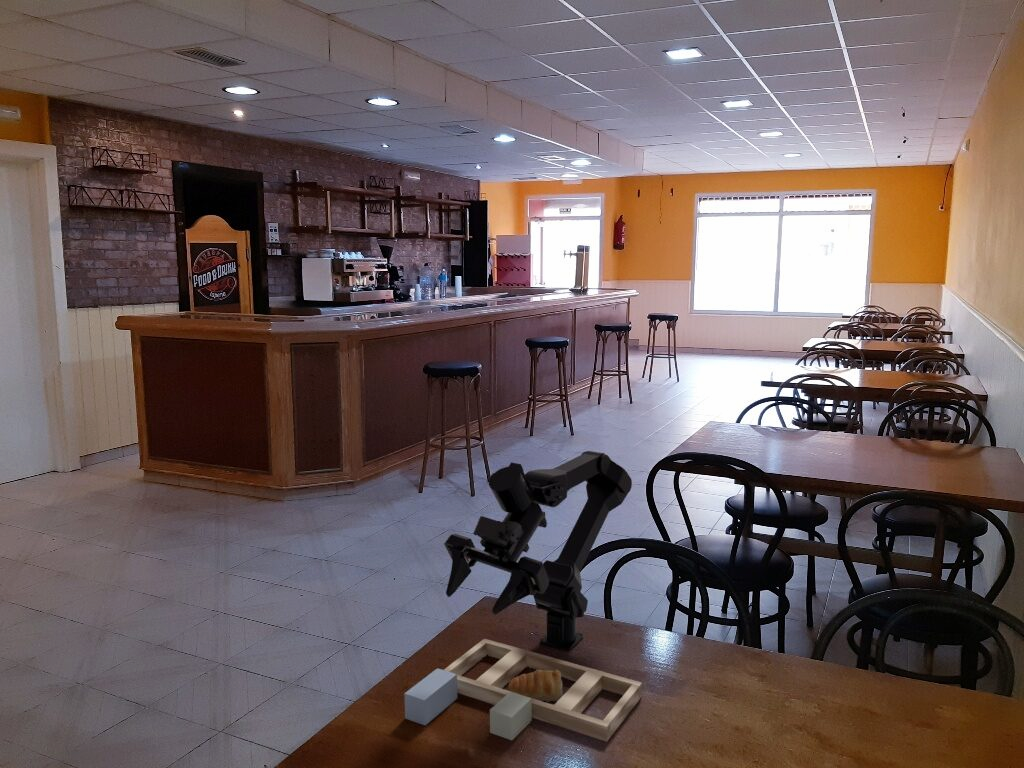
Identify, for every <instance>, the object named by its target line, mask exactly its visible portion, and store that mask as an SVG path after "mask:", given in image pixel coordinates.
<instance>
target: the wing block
mask: <svg viewBox="0 0 1024 768" xmlns="http://www.w3.org/2000/svg"><path fill="white" fill-rule="evenodd" d="M403 697H404V718H405V719H406V720H409V721H411V722H415V723H416V724H421V725H422V726H427V725H428V724H429V723H430V722H431V721H433V720H434V719H435V718H436V717H437V716H439V714H441V713H442V712H443V711H444V710H446V709H447V708H448V707H449V706H450V705H451V704H452V703H454V702H455V701H456V700H457V699H458V693H457V674H454V673H451V672H448V671H445V670H444V669H440V668H436V669H435V670H433V671H432V672H431V673H429V674H428V675H427V676H426V677H424V678H422V680H420V681H419V682H417V683H416V684H415V685H413V686H412V687H411V688H409V689H408V690H407V691H406V692H404V696H403Z"/></svg>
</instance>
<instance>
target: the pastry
mask: <svg viewBox="0 0 1024 768" xmlns="http://www.w3.org/2000/svg"><path fill="white" fill-rule="evenodd" d="M507 685H508V686H507V691H511V692H514V693H517V694H520V695H523V696H527V697H530V698H533V699H536V700H539V701H546V703H551V702H550V701H554V702H555V701H556V702H557V701H558V700H559V699H560V698H561V697H562V696H563V695H564V694H563V686H564V685H563V680H562V677H561V673H560V671H559V670H557V669H556V670H555V671H548V670H534V671H533V672H528V673H522V674H520V675H517V676H516V677H514V678H513V679H512V680H511V681H510V682H509V683H508V684H507ZM554 702H553V703H554ZM556 702H555V703H556Z"/></svg>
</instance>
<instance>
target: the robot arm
mask: <svg viewBox="0 0 1024 768" xmlns="http://www.w3.org/2000/svg"><path fill="white" fill-rule="evenodd" d="M583 482H585V483H586V485H585V489H586V496H587V500H586V502H585V504H584V506H583V508H582V510H581V512H580V514H579V516H578V518H577V520H576V521H575V524H574V526H573V528H572V530H571V532H570V533H569V536H568V538H567V540H566V542H565V543H564V546H563V547H562V549H561V551H560V554H559V556H558V557H557V558H556V559H555V560H553V561H551V560H547V559H546V560H544V562H542V561H541V560H537V559H534V558H531V557H528V556H525V555H524V556H521V555H522V554H523V553H527V554H528V551H529V549H530V547H529V542H530V541H531V539H532V537H533V535H534V533H536V530H537V529H538V528H540V527H541V528H547V527H548V526H547V525H548V522H547V521H548V520H547V518H546V512H545V511H543V510H542V507H541V506H544V507H550V508H557V507H558V506H559V505H560V504H561V503H562V502H564V501H565V500H566V499H568V498H567V497H568V491H570V490H571V489H572V488H575V487H576V486H579V485H580V484H582V483H583ZM632 483H633V481H632V478H631V476H630V475H629V473H628V471H626V469H625V468H624V467H622V466H621V465H619V464H618V463H616V462H615V461H614V460H612V458H610V457H609V455H608V454H605V452H599V451H593V450H586V451H583V452H581V454H580V455H579V456H576V457H574V458H572V459H570V460H568V461H566V462H564V463H563V464H560V465H558V466H556V467H554V468H542V469H540V468H539V469H538V468H537V469H533V470H528V472H527V471H526V473H525V472H524V468H523V466H522V464H521V463H518V462H510V464H509V465H508V466H505V467H501V468H500V469H498V470H497V471H495V472H493V473H492V474H491V475H490V477H489V479H488V486H489V488H490V490H491V491H492V494H493V495H494V497H495V500H496V502H497V504H498V505H499V507H500V509H501V510H502V511H503V512H506V513H507V514H506V515H505V517H504V519H503V520H502V521H500V520H496V519H494V518H489V517H486V516H483V515H480V516H479V518H478V521H477V522H476V526H475V528H474V531H473V533H472V534H473V535H474V536H478V538H480V541H479V542H480V544H481V547H483V548H484V549H483V550H481V549H479V548H476V546H475V544H474V541H473V540H472V538H470V537H467V536H464V535H461V534H458V533H452V534H450V535H449V536H448V537H447V539H446V540H445V541H444V543H443V544H444V547H445V549H446V551H447V553H448V554H449V557H450V559H451V560H452V562H451V569H450V575H449V578H448V583H447V586H446V591H445V594H446V597H448V598H450V597H451V596H453V594H455V593H456V591H457V590H458V589H459V588H460V586H461V585H462V584H463V583H464V582H465V580H466V579H467V577H469V575H470V574H471V573H472V569H471V568H473V567H474V566H475V565H476V564H477V562H478V563H481V564H484V565H487V566H490V567H493V568H496V569H499V570H501V571H504V572H508V573H510V576H509V581H508V582H507V583H506V585H505V587H504V588H503V590H502V592H501V594H499V597H498V598H497V600H496V601H495V603H494V605H493V607H492V609H491V612H492V614H493V615H495V616H496V615H497V614H499V613H501V612H502V611H503V610H505V609H507V608H508V607H510V606H511V605H513V604H515V603H516V602H519V601H520V600H522V599H524V598H526V597H528V596H533V598H534V600H533V601H534V602H535V603H534V604H535V607H536V609H538V610H542V611H545V612H546V615H545V616H546V627H545V629H546V631H545V632H546V633H545V634H544V635H543V637H540V639H539V643H540V644H543V645H545V646H546V645H547V646H550V647H554V648H557V649H561V650H565V651H571V650H572V648H573V647H574V646H576V645H577V644H578V643H579V642H580V641H581V640H582V639H584V634H583V633H579V632H577V618H583V617H585V616H584V615H585V612H587V608H588V602H589V600H588V598H587V597H586V596H585V595H584V594H583V593H582V589H583V586H582V576H581V572H582V569H583V567H584V565H585V563H586V560H587V558H588V557H589V555H590V553H591V550H592V548H593V546H594V544H595V542H596V540H597V538H598V536H599V534H600V532H601V529H602V527H603V526H604V523H605V521H606V519H607V518H608V515H609V513H610V512H611V511H613V510H614V509H616V508H618V507H619V506H621V505H622V504H623V502H624V501H625V499H626V498H627V496H628V494H629V493H630V492H631V490H632V485H633V484H632Z"/></svg>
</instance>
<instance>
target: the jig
mask: <svg viewBox="0 0 1024 768" xmlns="http://www.w3.org/2000/svg"><path fill="white" fill-rule="evenodd" d="M487 655H488V657H491V658H494V657H495V658H494V659H497V658H498V659H497V660H498V661H496V663H494V664H493V665H491V666H490V667H489V668H488V669H487V670H486V671H484V673H483V674H481V675H480V676H479V677H478V678H477V679H476V680H474V679H472V678H468V677H466V676H463V675H464V674H465V673H467V672H468V671H469V670H470V669H471V668H473V667H474V666H475V665H476V664H478V663H479V662H480V661H481V660H483V659H484V658H485V657H487ZM483 657H484V658H483ZM482 658H483V659H482ZM528 667H529V669H532V668H533V669H532V670H535V669H536V670H548V671H555V670H556V669H557V670H559V671H560V673H561V678H562V677H564V678H563V679H566V678H567V680H570V681H573V682H575V683H573V684H572V685H571V687H569V689H568V690H566V692H565V693H564V694H563V696H562V697H561V698H560V699H559V700H558V701H556V702H555V703H554V704H552V703H550V702H542V701H539V700H536V699H533V698H531V706H532V719H536V720H538V721H542V722H546V723H549V724H552V725H554V726H557V727H561V728H564V729H567V730H569V731H572V732H576V733H579V734H582V735H585V736H588V737H590V738H594V739H597V740H600V741H602V742H603V741H604V742H606V743H607V742H608V741H609V739H611V737H612V736H613V735H614V733H615V732H616V730H617V729H618V728H619V727H620V726H621V724H622V723H623V722H624V720H625V719H626V718H627V716H628V715H629V714H630V712H631V711H632V710H633V708H634V707H635V706H636V704H637V703H639V701H640V699H642V697H643V682H640V681H638V680H634V679H631V678H627V677H623V676H620V675H616V674H612V673H609V672H605V671H601V670H598V669H595V668H591V667H588V666H584V665H580V664H576V663H572V662H570V661H567V660H562V659H559V658H555V657H552V656H549V655H546V654H545V655H544V654H542V653H539V652H538V653H537V652H533V651H530V650H527V649H523V648H519V647H517V646H512V645H509V644H505V643H501V642H497V641H494V640H491V639H487V638H483V639H482V640H481V641H479V642H478V643H477V644H475V645H474V646H472V648H470V649H469V650H467V651H466V652H465V653H463V655H461V656H460V657H458V658H457V659H456V660H454V661H453V662H452V663H450V664H449V665H448V666H447V667H445V668H444V669H443V670H445V671H448V672H451V673H454V674H457V694H460V695H462V696H466V697H469V698H471V699H472V698H473V699H475V700H478V701H481V702H484V703H487V704H490V705H493V706H495V705H496V704H497V703H498V702H499V701H500V700H501V699H502V698H503V697H505V696H506V695H507V694H508V693H509V692H511V691H508V689H505V687H506V686H507V685H508V684H509V683H510V681H511V680H512V679H513V678H515V676H516V677H517V676H519V674H520V673H521V672H522V671H524V669H526V668H528ZM536 670H535V671H536ZM507 683H508V684H507ZM505 685H506V686H505ZM602 690H604V691H608V692H611V693H614V694H617V695H618V694H619V695H621V696H622V697H621V698H619V700H618V702H616V703H615V705H614V706H613V707H612V709H611V710H610V711H609V713H607V715H606V716H605V718H603V720H602V719H599V718H596V717H592V716H590V715H587V714H584V713H583V711H585V709H586V708H587V707H588V706H589V705H590V704H591V702H592V701H593V700H594V699H595V698H596V697H597V696H598V695H599V693H600V692H602ZM513 693H514V692H513ZM516 694H517V693H516ZM519 695H520V694H519ZM522 696H523V695H522ZM525 697H527V696H525ZM528 698H530V697H528Z"/></svg>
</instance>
